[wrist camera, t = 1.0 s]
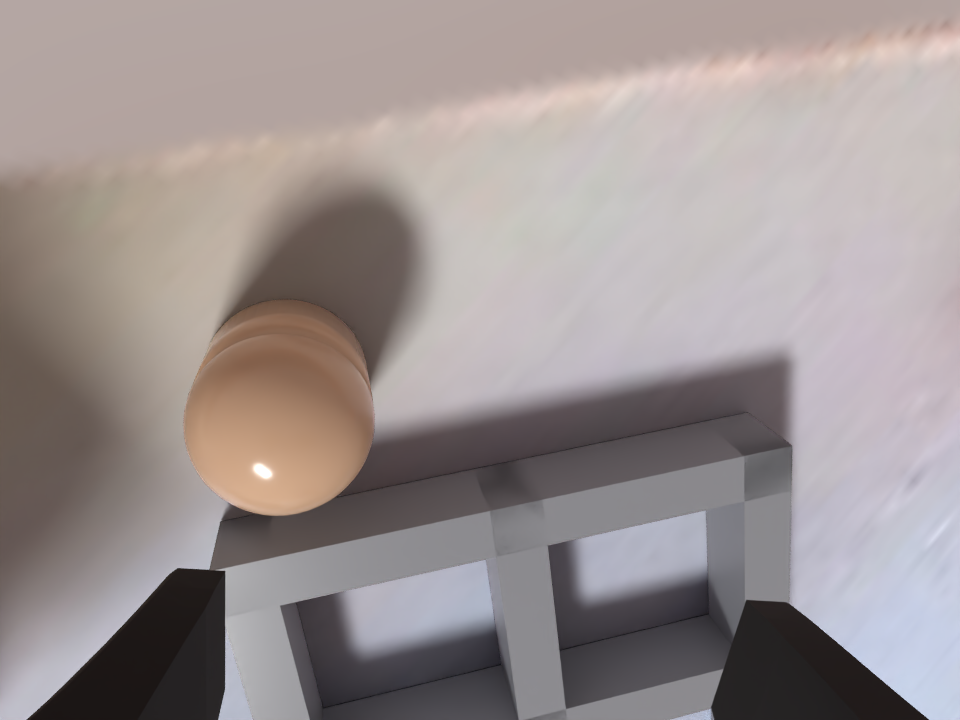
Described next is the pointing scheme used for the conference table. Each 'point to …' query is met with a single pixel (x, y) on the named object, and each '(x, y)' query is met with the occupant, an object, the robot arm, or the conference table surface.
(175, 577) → the robot arm
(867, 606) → the conference table surface
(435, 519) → the egg crate
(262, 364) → the tan bulbous object
